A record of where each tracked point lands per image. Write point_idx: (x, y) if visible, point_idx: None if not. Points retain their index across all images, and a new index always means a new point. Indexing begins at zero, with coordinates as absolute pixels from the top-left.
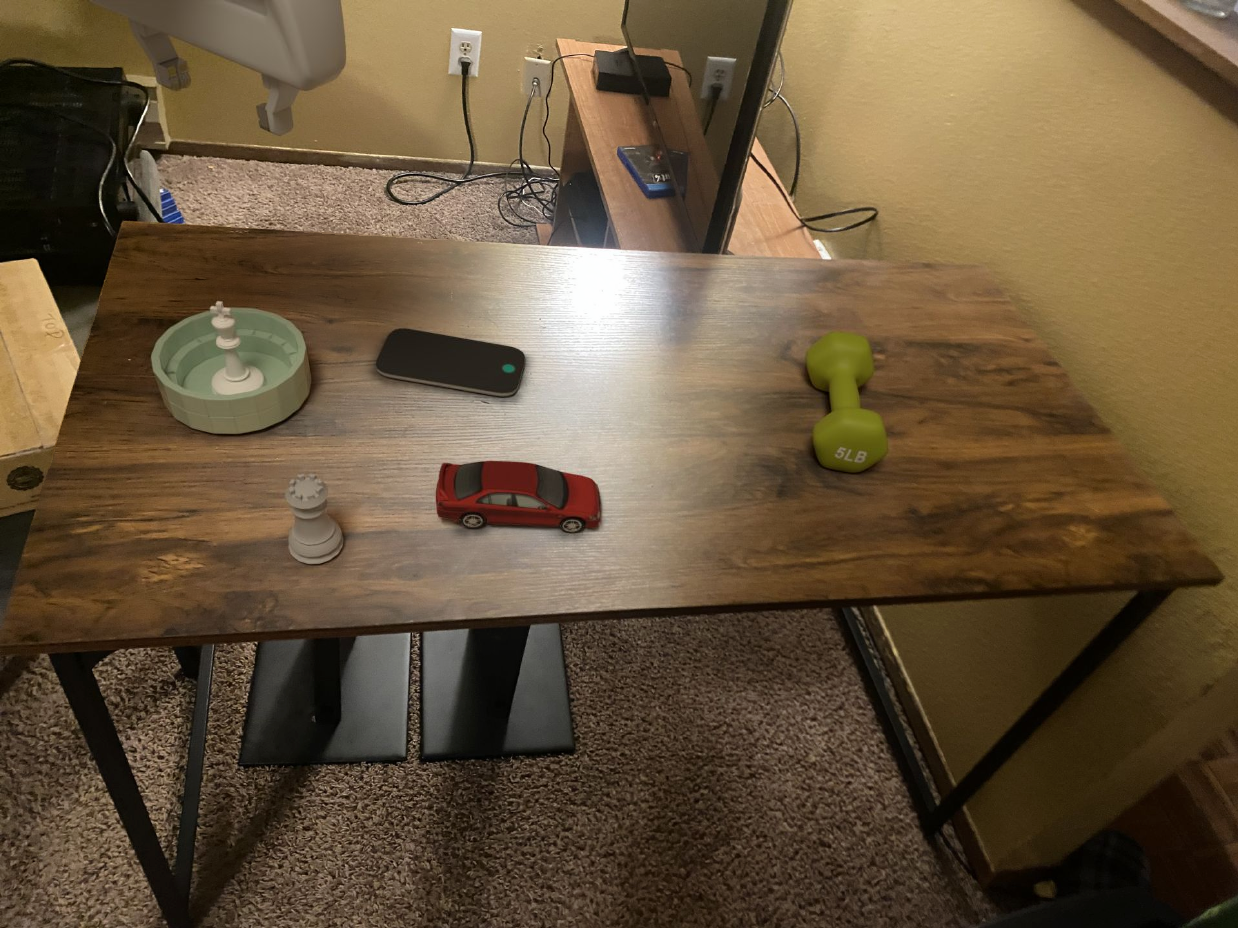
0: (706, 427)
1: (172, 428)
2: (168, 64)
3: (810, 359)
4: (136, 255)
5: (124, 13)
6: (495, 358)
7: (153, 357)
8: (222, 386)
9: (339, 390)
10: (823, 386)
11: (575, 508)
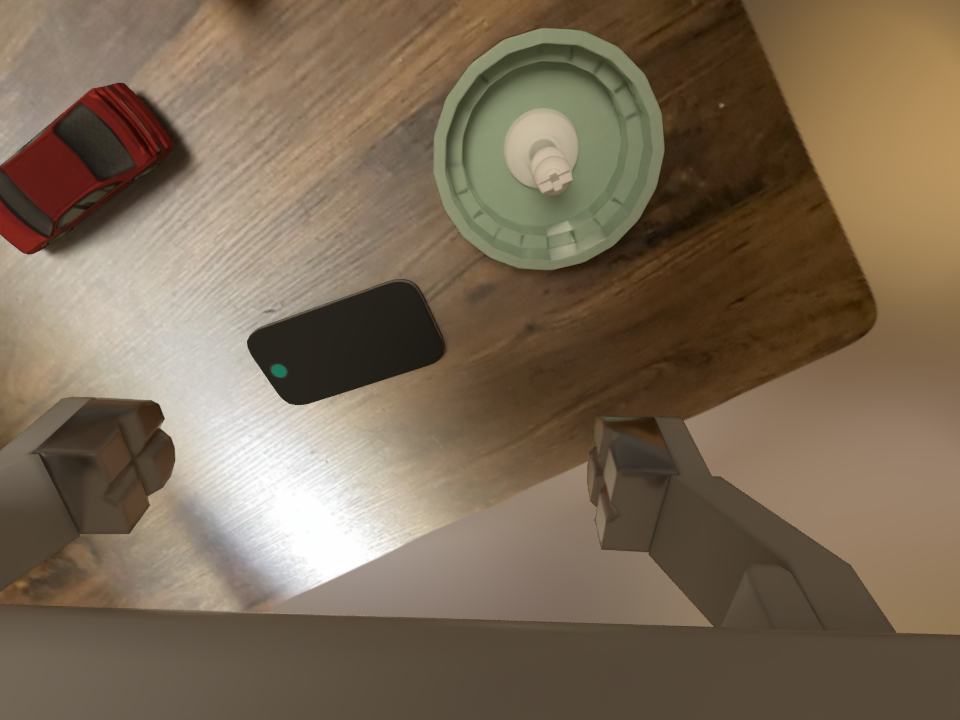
0: None
1: (568, 17)
2: (637, 496)
3: None
4: (850, 293)
5: (898, 658)
6: (303, 377)
7: (639, 74)
8: (547, 123)
9: (429, 226)
10: None
11: None
